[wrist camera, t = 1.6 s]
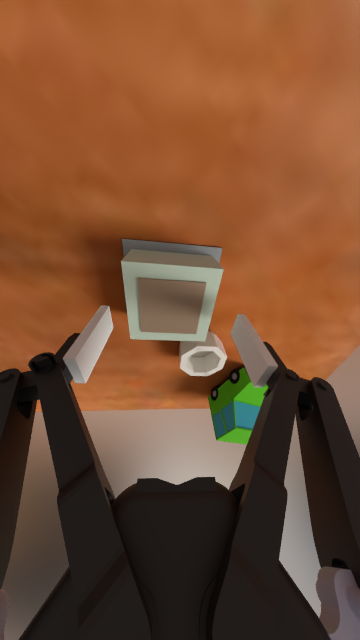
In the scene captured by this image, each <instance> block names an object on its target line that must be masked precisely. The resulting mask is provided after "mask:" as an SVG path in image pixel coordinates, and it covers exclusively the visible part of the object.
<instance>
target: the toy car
mask: <svg viewBox="0 0 360 640" xmlns="http://www.w3.org/2000/svg"><path fill="white" fill-rule="evenodd" d="M267 389H268V386H267V384H265V386H264V387H263V388H259V387H254V386H253V384H252V381H251V379H250V377H249V375H248V372H247V370H246V368H244V367H243V368H242V369H240V370H236V369H234V370H233V371H231V373H230V379H228V380H227V381H226V382H225V383H224V384H222V385H221V386H220V387H219V388H218V387H214V388H213V389H212V391H211V395H210V396H209V397H208V400H209V405H210V410H211V415H212V420H213V426H214V431H215V436H216V440H218V441H225V442H233V443H240V444H247V443H248V441H249V438H250V435H251V432H252V430H253V427H254V424H255V421H256V418H257V416H258V413H259V410H260V407H261V405H262V402H263V399H264V395H263V394H264V393H265V392H266V390H267Z"/></svg>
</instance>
